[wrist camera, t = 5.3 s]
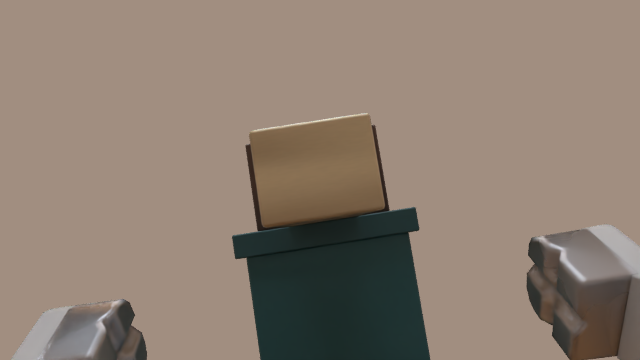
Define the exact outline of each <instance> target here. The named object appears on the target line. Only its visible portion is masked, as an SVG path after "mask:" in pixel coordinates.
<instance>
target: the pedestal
mask: <svg viewBox="0 0 640 360" xmlns="http://www.w3.org/2000/svg"><path fill="white" fill-rule="evenodd" d="M418 230H419V225H418V219H417V213H416V208H415V207H412V208H405V209H399V210H392V211H386V212H380V213H373V214H367V215H360V216H354V217H348V218H341V219H335V220H328V221H322V222H316V223H309V224H303V225H296V226H290V227H284V228H277V229H271V230H264V231H258V232H252V233H246V234H239V235H233V236H232V239H233V246H234V254H235V259H241V258H247V265H248V273H249V280H250V287H251V294H252V300H253V309H254V315H255V323H256V330H257V337H258V345H259V352H260V359H261V360H430V355H429V349H428V343H427V338H426V332H425V326H424V320H423V314H422V309H421V302H420V297H419V291H418V285H417V279H416V274H415V268H414V262H413V256H412V250H411V244H410V239H409V233H408V232H413V231H418Z"/></svg>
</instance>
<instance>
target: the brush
mask: <svg viewBox="0 0 640 360" xmlns="http://www.w3.org/2000/svg"><path fill="white" fill-rule="evenodd" d="M249 138H250V144H247V145H246V152H247V160H248V166H249V174H250V181H251V188H252V195H253V202H254V208H255V216H256V222H257V230H258V231H264V230H271V229H277V228H284V227H290V226H296V225H303V224H309V223H316V222H322V221H328V220H335V219H341V218H348V217H354V216H360V215H367V214H373V213H380V212H386V211H389V205H388V199H387V193H386V187H385V181H384V175H383V169H382V163H381V158H380V151H379V146H378V140H377V134H376V128H375V125H371V119H370V116H369V114H367V113H363V114H357V115H350V116H343V117H337V118H330V119H324V120H318V121H312V122H305V123H299V124H292V125H285V126H279V127H272V128H266V129H259V130H253V131H251V132H250V134H249Z"/></svg>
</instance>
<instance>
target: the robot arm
mask: <svg viewBox="0 0 640 360" xmlns="http://www.w3.org/2000/svg"><path fill="white" fill-rule="evenodd" d="M528 251H529V252H528V256H529V257H530V258H531V259H532V261H533V262H534V263H535V264H534V265H533V267H532V268H531V269H530V270H529V272H528V273H527V291H528V295H529V299H530V302H531V304H532V307H533V309H534V310H535V312H536V314H537V315H538V317H539V318H540V319H541V320H543V321H545V322H547V323H549V324H551V325H553V332H552V336H553V338H554V339H555V340H556V341H557V343H558V344H559V346H560V347H561V348H562V350H563V351H564V353H566V355H567V357H568V358H569V359H570V360H588V359H596V358H604V357H612V356H617V358H618V359H620V360H640V246H639V245H637V244H636V243H635V242H633V241H632V240H631V239H630V238H628V237H627V236H626V235H624V234H623V233H622V232H621V231H620V230H618V229H617V228H616V227H614V226H611V225H608V224H605V225H599V226H594V227H588V228H583V229H581V230H575V231H569V232H563V233H557V234H550V235H545V236H538V237H533V238H531V241H530V243H529V250H528ZM134 316H135V314H134V312H133V310H132V307H131V305H130V303H129V302H128V301H126V300H124V299H120V300H114V301H105V302H98V303H90V304H82V305H76V306H68V307H61V308H55V309H50V310H48V311H46V312H44V313H43V314H42V315H41V317H40V318H39V320H38V321H37V323H36V324H35V325H34V327H33V329H32V330H31V331H30V333H29V334H28V335H27V337H26V339H25V340H24V341H23V343H22V344H21V346H20V347H19V348H18V350H17V351H16V353H15V354H14V356H13V357H12V359H11V360H146V359H147V351H146V345H145V341H144V338H143V335H142V332H140V331H139V330H137V329H136V328H134V327H133V326H131V323H132V321H133V318H134Z"/></svg>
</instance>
